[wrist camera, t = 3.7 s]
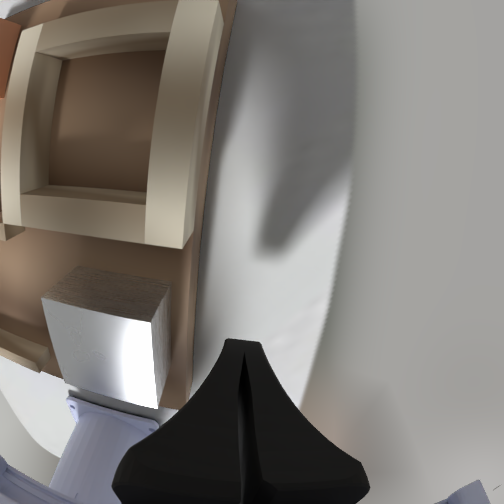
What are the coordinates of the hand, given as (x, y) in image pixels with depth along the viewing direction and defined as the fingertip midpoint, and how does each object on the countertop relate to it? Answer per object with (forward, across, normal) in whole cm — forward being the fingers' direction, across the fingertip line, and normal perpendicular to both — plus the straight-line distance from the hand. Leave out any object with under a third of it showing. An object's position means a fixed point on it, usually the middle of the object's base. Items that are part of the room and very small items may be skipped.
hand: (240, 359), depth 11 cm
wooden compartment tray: (+4, +10, -4) cm, 12 cm away
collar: (+2, +6, -8) cm, 11 cm away
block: (+2, +5, 0) cm, 6 cm away
